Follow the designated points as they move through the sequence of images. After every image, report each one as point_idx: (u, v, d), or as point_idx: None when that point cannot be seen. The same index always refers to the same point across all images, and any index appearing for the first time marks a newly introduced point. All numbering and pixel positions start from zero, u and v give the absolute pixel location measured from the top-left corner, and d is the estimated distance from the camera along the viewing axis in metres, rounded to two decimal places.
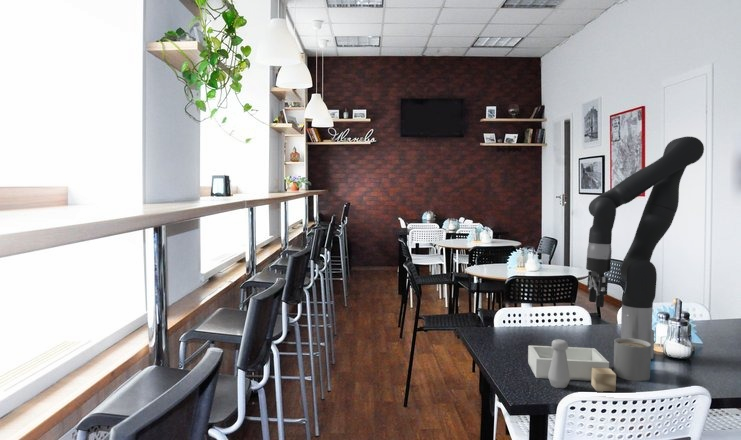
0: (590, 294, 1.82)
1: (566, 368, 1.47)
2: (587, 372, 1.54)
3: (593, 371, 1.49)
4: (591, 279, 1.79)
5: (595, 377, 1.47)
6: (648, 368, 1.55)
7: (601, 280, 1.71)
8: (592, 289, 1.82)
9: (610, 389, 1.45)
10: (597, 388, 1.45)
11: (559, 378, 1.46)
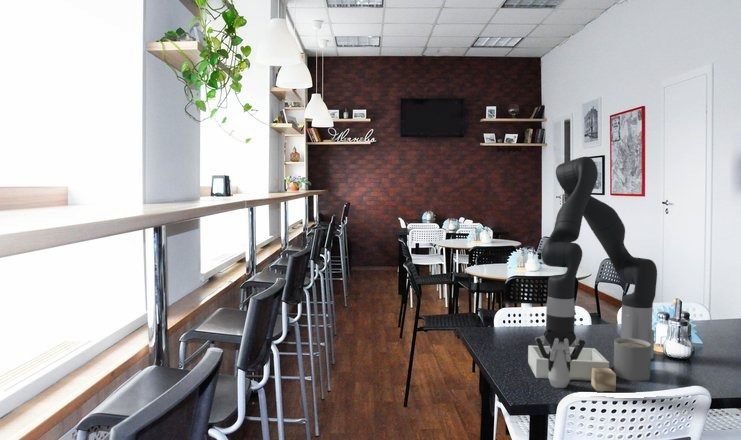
0: None
1: (566, 368, 1.47)
2: (587, 372, 1.54)
3: (593, 371, 1.49)
4: (558, 341, 1.47)
5: (595, 377, 1.47)
6: (648, 368, 1.55)
7: None
8: None
9: (610, 389, 1.45)
10: (597, 388, 1.45)
11: (559, 378, 1.46)
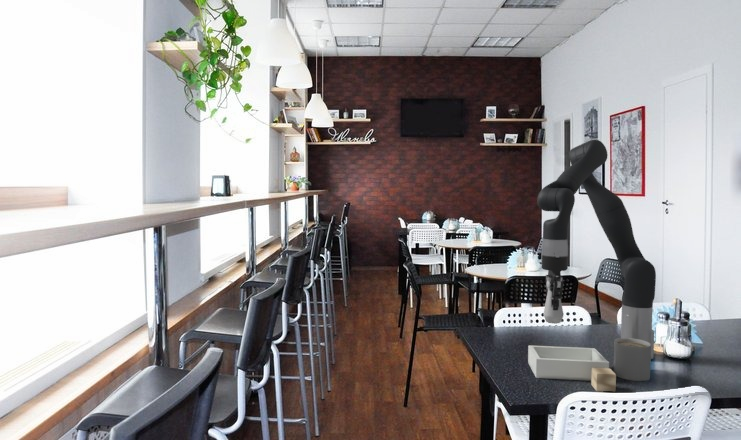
0: None
1: None
2: (587, 372, 1.54)
3: (593, 371, 1.49)
4: None
5: (595, 377, 1.47)
6: (648, 368, 1.55)
7: None
8: None
9: (610, 389, 1.45)
10: (597, 388, 1.45)
11: None
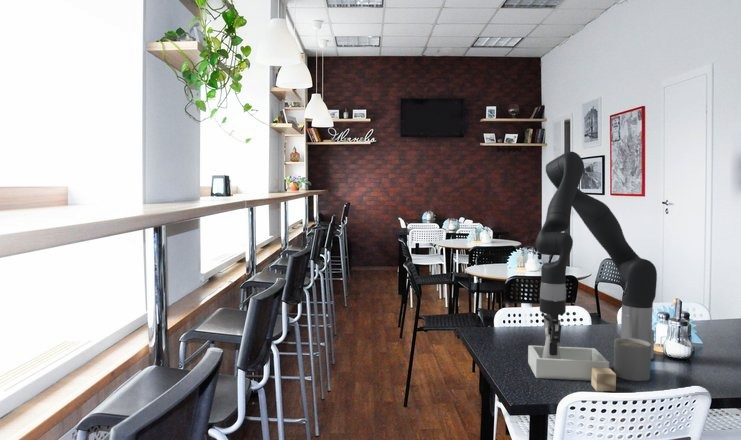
0: None
1: None
2: (587, 372, 1.54)
3: (593, 371, 1.49)
4: None
5: (595, 377, 1.47)
6: (648, 368, 1.55)
7: None
8: None
9: (610, 389, 1.45)
10: (597, 388, 1.45)
11: None
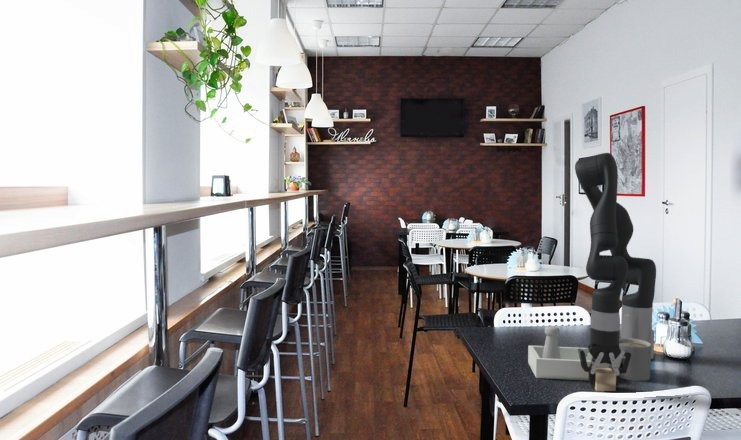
0: (594, 378, 1.47)
1: None
2: (587, 372, 1.54)
3: None
4: (602, 356, 1.46)
5: (595, 377, 1.47)
6: (648, 368, 1.55)
7: None
8: None
9: (610, 389, 1.45)
10: (597, 388, 1.45)
11: None
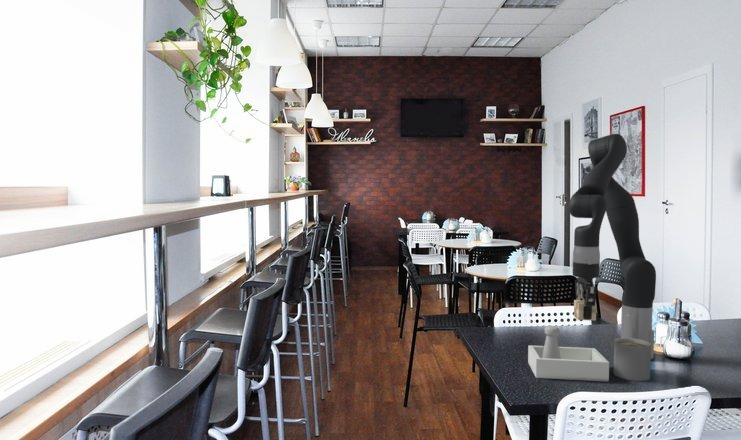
0: None
1: None
2: (587, 372, 1.54)
3: None
4: None
5: None
6: (648, 368, 1.55)
7: None
8: None
9: None
10: (595, 317, 1.57)
11: None
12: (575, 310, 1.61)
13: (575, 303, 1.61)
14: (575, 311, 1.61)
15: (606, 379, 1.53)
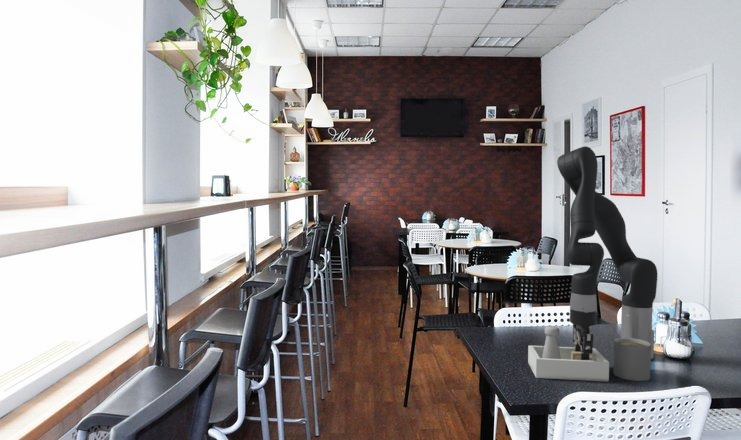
0: None
1: None
2: (587, 372, 1.54)
3: (580, 358, 1.58)
4: None
5: None
6: (648, 368, 1.55)
7: None
8: None
9: None
10: None
11: None
12: None
13: (572, 355, 1.62)
14: None
15: (606, 379, 1.53)
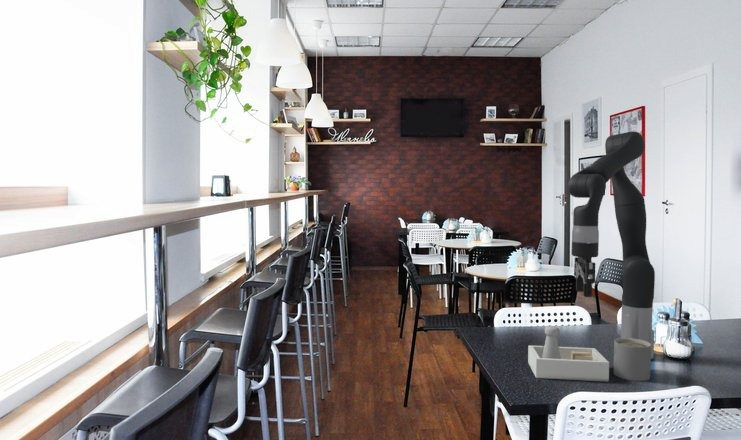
0: None
1: None
2: (587, 372, 1.54)
3: (580, 358, 1.58)
4: None
5: None
6: (648, 368, 1.55)
7: None
8: None
9: None
10: None
11: None
12: None
13: (572, 355, 1.62)
14: None
15: (606, 379, 1.53)
